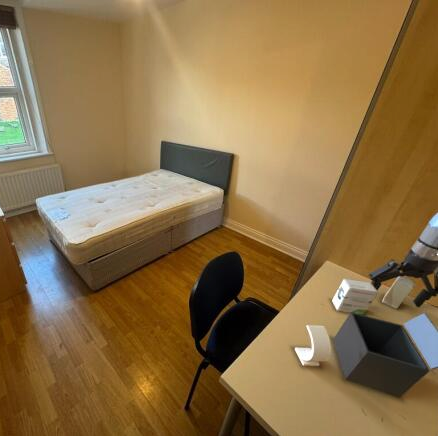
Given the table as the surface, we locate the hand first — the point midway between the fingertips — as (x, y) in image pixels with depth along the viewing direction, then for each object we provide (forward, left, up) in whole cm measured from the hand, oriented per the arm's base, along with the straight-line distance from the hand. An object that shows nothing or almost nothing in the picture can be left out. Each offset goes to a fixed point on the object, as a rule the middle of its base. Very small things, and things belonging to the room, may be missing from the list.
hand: (392, 298), depth 87 cm
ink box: (+16, +9, -2) cm, 18 cm away
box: (0, 0, -2) cm, 2 cm away
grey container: (+18, +32, -2) cm, 37 cm away
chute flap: (+11, +32, +15) cm, 37 cm away
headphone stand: (+33, +36, -2) cm, 49 cm away
